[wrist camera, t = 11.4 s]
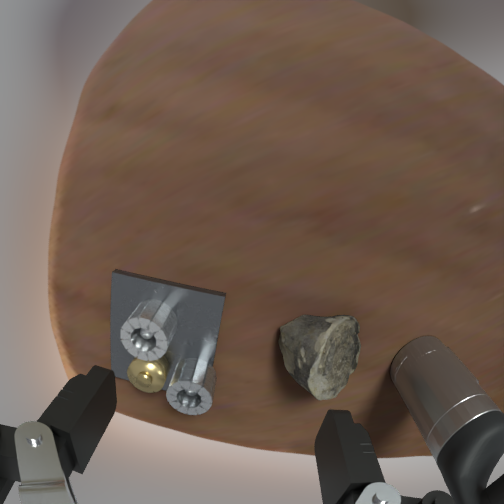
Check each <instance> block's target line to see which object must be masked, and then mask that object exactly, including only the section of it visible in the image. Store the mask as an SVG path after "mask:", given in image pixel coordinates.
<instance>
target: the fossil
mask: <svg viewBox="0 0 504 504" xmlns="http://www.w3.org/2000/svg"><path fill="white" fill-rule="evenodd" d="M359 329H360V326H359V323H358V322H357V320H356V319H355V318H354V317H353V316H349V315H337V316H333V317H320V316H311V315H302V316H300V317H298V318H296V319H294V320H293V321H291V322H289V323H287V324H285V325H284V326H281V327H280V332H281V335H280V336H279V342H278V343H279V347H280V350H281V353H282V354H283V360H284V366H285V368H286V369H287V371H288V372H289V374H290V375H291V376H292V377H293V378H294V380H295V381H296V382H297V383H298V384H299V385H300V386H302V387H303V388H304V389H306V390H307V391H308V392H309V393H311V394H312V395H313V396H314V397H315V398H316V399H318V400H323V399H325V400H326V399H332V398H335V397H337V394H338V393H339V392H340V391H341V390H342V389H343V388H344V387H345V385H346V384H347V381H348V378H349V375H350V374H351V373H353V372H354V371H355V369H356V366H357V363H358V356H359V353H360V348H361V344H360V341H359V338H358V333H359Z"/></svg>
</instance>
